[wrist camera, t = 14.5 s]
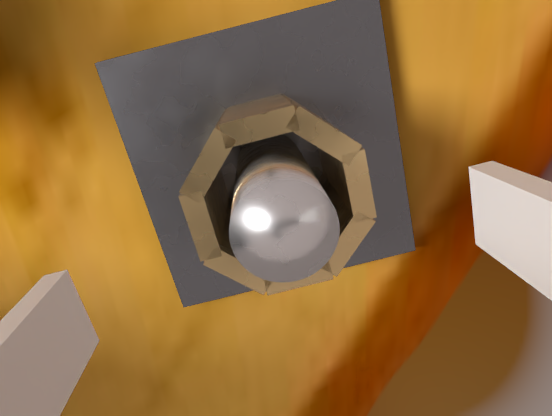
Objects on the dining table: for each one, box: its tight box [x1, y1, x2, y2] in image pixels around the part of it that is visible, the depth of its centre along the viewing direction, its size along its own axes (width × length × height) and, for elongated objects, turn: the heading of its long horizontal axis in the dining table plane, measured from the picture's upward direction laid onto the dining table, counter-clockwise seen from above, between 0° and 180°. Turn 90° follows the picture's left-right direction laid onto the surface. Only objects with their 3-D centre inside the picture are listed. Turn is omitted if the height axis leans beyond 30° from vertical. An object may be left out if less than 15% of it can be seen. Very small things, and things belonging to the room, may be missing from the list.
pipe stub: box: [95, 0, 415, 307], centre depth 21 cm, size 16×16×12 cm
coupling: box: [179, 94, 377, 295], centre depth 22 cm, size 8×8×8 cm
